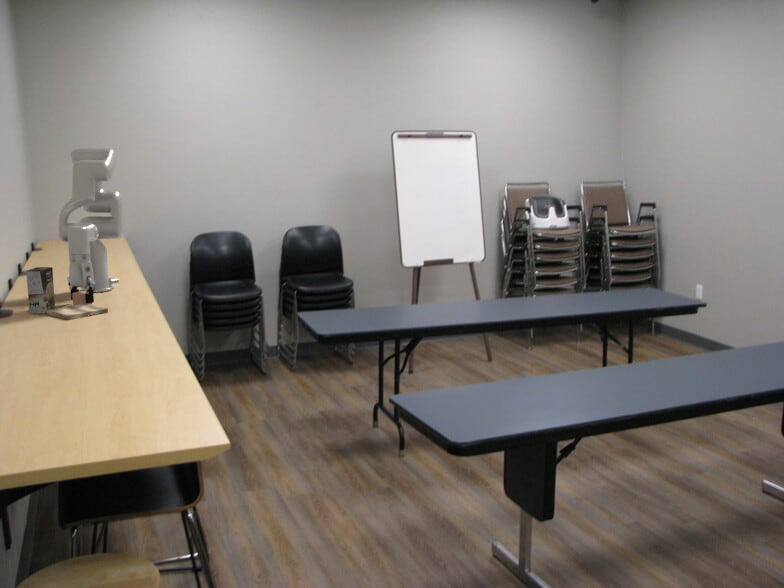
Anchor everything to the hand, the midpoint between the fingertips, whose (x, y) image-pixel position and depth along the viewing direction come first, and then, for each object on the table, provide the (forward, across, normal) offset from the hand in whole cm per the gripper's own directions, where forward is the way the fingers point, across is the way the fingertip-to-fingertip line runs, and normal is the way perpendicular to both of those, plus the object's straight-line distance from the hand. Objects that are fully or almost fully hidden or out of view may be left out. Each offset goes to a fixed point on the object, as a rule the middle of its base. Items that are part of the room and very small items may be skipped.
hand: (82, 301), depth 287 cm
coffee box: (+2, +2, +15) cm, 16 cm away
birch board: (+2, -11, +9) cm, 14 cm away
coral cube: (+2, 0, 0) cm, 2 cm away
